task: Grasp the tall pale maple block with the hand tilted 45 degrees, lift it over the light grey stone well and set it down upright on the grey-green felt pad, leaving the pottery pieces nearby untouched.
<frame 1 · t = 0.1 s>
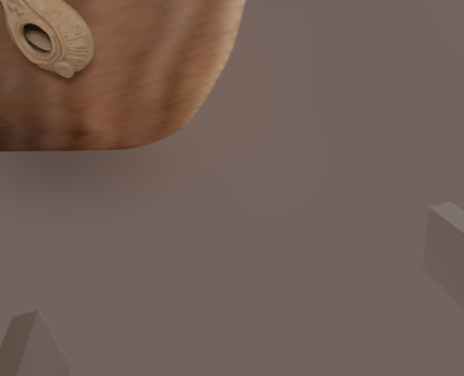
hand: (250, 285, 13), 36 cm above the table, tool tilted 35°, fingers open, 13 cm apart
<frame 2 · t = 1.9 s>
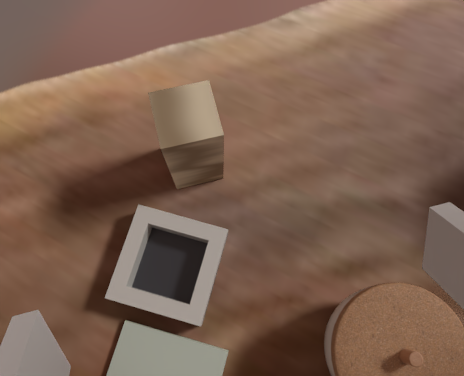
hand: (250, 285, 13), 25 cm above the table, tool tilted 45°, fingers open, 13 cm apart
stone well: (171, 265, 37), on the table
maple block: (194, 162, 40), on the table
lidded jar: (366, 343, 36), on the table
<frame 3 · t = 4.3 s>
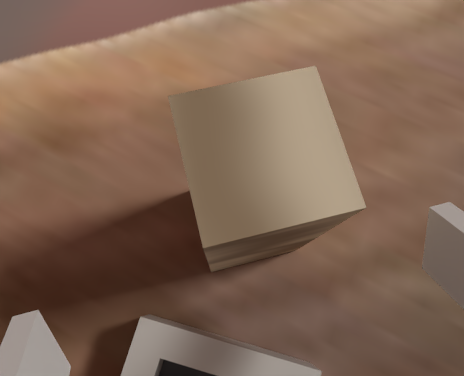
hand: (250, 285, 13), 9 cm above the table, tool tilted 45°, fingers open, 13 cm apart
maple block: (242, 219, 22), on the table
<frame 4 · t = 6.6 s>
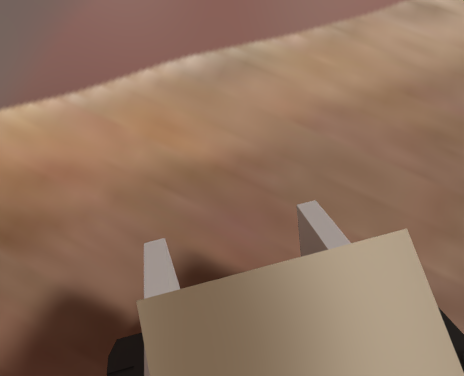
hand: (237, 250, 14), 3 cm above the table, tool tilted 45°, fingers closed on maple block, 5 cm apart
maple block: (255, 342, 16), on the table, touching gripper
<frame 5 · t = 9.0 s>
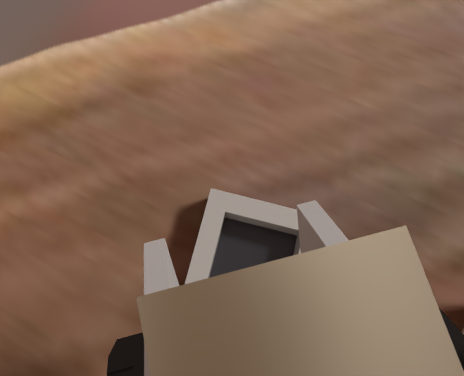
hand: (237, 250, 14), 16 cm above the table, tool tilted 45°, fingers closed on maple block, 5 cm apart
stone well: (252, 263, 30), on the table
maple block: (255, 341, 17), point 12 cm above the table, touching gripper
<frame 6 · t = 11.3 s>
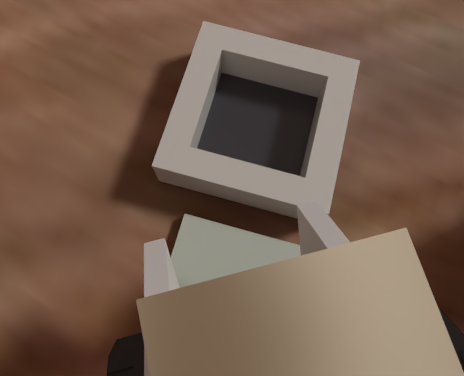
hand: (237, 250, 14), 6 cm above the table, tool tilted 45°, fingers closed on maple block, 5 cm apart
stone well: (256, 130, 22), on the table
maple block: (255, 342, 16), point 2 cm above the table, touching gripper
felt pad: (251, 336, 19), on the table
when the fingers open (5 cm above the table, at t = 11.6 s): maple block drops 2 cm, resting on felt pad.
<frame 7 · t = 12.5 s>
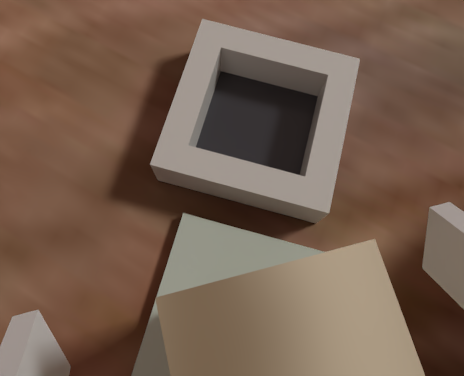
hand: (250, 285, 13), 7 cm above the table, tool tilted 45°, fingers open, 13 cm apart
stone well: (256, 129, 22), on the table
maple block: (253, 338, 18), point 1 cm above the table, touching felt pad
felt pad: (250, 337, 19), on the table
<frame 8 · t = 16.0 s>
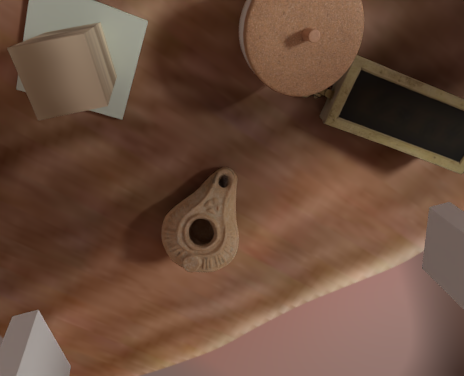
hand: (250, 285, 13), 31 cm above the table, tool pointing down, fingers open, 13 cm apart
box: (381, 104, 45), on the table
maple block: (82, 55, 36), point 1 cm above the table, touching felt pad
lidded jar: (277, 26, 39), on the table
felt pad: (82, 54, 36), on the table
pottery oil lamp: (204, 204, 47), on the table
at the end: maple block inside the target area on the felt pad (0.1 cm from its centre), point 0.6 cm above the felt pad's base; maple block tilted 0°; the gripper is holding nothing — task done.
